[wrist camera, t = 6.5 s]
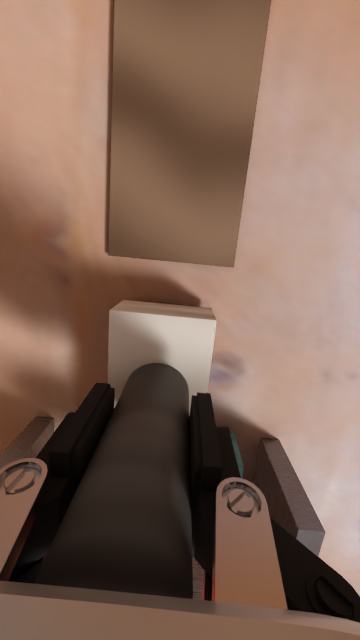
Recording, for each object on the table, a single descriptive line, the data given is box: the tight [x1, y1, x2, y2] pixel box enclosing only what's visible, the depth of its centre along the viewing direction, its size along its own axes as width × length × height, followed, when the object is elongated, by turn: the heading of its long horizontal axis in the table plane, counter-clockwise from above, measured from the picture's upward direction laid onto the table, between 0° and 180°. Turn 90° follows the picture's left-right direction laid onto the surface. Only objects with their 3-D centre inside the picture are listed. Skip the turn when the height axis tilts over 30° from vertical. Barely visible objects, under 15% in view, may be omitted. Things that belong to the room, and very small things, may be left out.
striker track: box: [108, 0, 271, 267], centre depth 13 cm, size 13×7×1 cm, turn 175°
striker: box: [37, 300, 244, 599], centre depth 11 cm, size 9×10×11 cm
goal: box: [0, 417, 325, 600], centre depth 15 cm, size 8×16×8 cm, turn 85°
